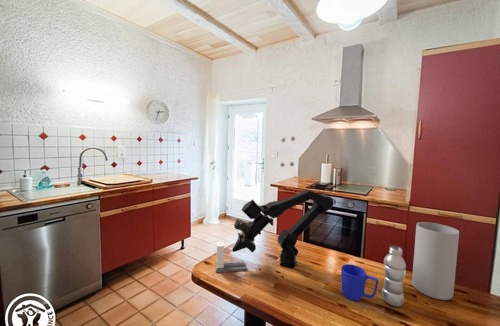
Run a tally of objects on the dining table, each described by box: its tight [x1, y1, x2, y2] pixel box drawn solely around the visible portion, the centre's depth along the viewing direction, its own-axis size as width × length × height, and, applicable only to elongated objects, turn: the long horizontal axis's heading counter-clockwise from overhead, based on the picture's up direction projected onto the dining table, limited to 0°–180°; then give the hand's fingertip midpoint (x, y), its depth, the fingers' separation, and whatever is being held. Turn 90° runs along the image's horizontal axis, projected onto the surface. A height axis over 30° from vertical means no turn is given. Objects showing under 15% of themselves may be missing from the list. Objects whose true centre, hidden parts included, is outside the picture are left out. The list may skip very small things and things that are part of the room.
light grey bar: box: [224, 260, 245, 267], centre depth 99 cm, size 12×2×2 cm, turn 99°
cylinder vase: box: [411, 221, 460, 301], centre depth 86 cm, size 12×12×25 cm
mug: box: [340, 263, 379, 302], centre depth 81 cm, size 8×12×10 cm
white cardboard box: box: [216, 241, 225, 268], centre depth 98 cm, size 3×5×10 cm, turn 9°
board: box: [215, 262, 247, 273], centre depth 99 cm, size 13×6×1 cm, turn 99°
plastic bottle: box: [381, 245, 407, 307], centre depth 79 cm, size 6×7×20 cm
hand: (232, 251), depth 99 cm, fingers closed
